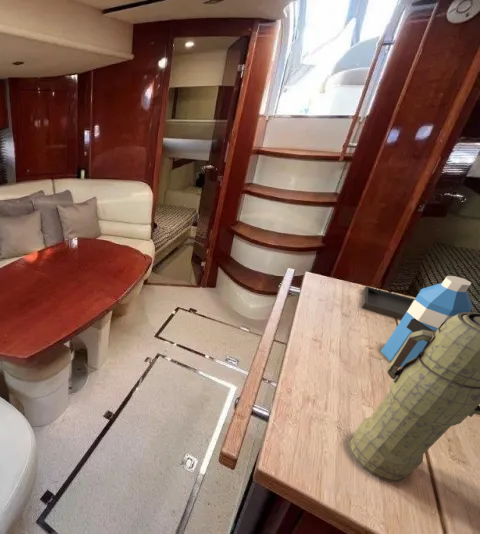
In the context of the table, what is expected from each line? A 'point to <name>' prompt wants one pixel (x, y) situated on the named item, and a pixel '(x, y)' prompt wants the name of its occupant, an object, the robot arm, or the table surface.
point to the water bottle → (430, 313)
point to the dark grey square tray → (385, 302)
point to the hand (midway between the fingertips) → (437, 321)
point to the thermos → (422, 399)
